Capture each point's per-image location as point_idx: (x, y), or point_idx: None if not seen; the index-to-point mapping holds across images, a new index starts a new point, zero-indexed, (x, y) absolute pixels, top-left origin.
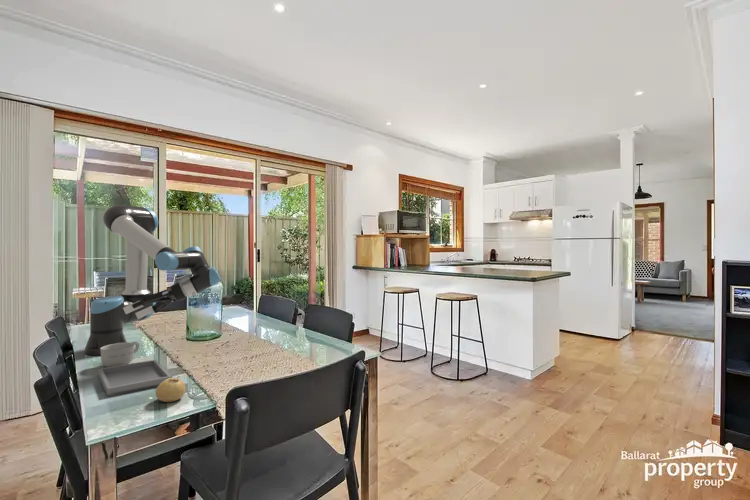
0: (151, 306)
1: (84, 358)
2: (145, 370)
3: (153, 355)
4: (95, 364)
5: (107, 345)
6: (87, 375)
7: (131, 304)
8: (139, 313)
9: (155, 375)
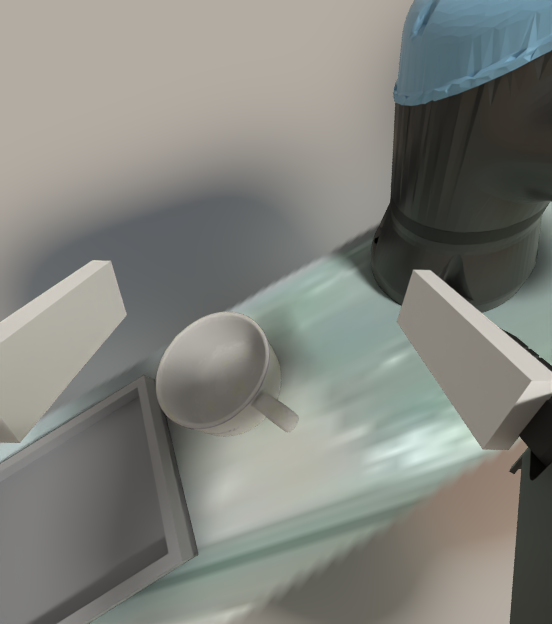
0: (538, 387)
1: (341, 253)
2: (124, 533)
3: (373, 484)
4: (271, 316)
5: (242, 317)
6: None
7: (40, 300)
8: (421, 304)
9: (48, 602)
